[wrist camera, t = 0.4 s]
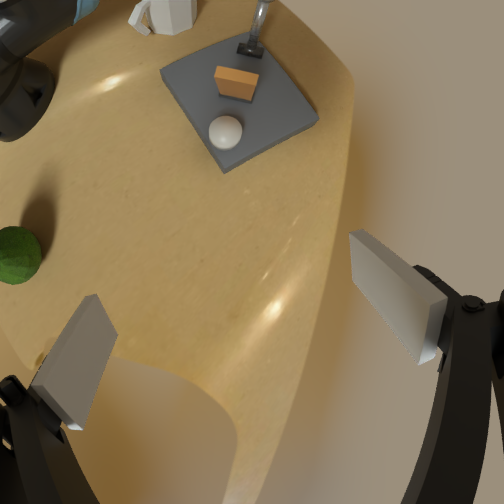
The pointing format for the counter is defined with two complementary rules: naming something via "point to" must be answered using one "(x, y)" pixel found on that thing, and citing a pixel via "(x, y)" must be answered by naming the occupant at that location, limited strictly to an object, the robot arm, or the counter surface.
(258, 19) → the toggle lever
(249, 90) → the paddle switch
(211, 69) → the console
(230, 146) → the push button
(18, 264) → the avocado
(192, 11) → the mug
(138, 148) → the counter surface
